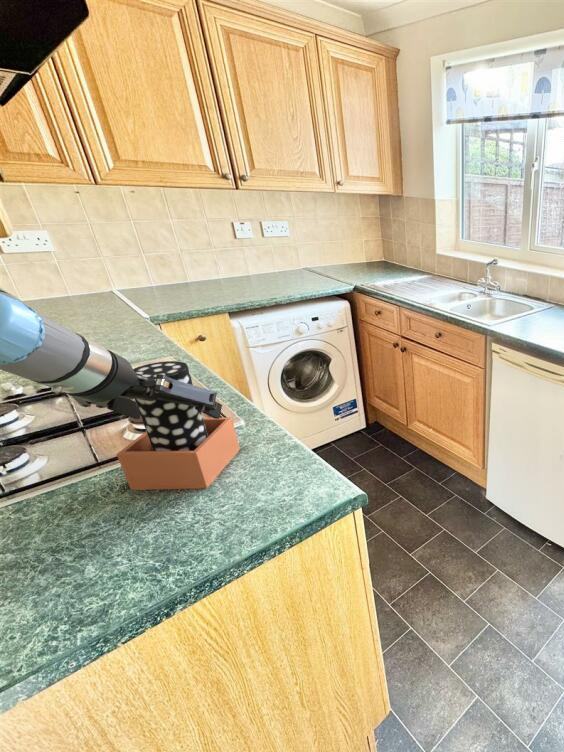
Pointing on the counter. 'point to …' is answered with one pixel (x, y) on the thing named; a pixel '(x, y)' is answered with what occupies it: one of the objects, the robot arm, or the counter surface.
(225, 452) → the box
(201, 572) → the counter surface
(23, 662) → the counter surface
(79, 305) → the counter surface
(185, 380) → the white-spotted black cylinder
